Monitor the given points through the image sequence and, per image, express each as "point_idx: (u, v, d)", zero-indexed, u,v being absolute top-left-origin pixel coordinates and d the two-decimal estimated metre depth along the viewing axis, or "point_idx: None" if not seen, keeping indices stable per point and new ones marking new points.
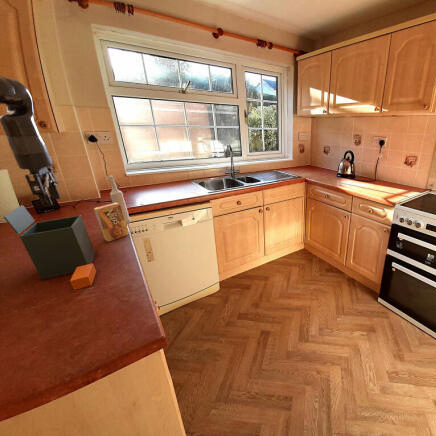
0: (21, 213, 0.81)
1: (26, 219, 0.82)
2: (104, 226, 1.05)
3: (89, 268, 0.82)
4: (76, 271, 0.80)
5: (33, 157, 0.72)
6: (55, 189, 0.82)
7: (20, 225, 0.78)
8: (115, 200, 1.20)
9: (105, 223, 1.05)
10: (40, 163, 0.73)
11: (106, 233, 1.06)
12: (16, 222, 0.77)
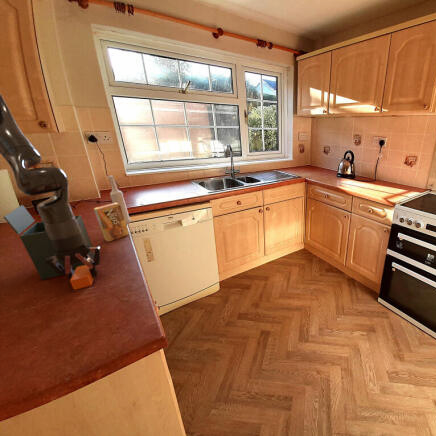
0: (21, 213, 0.81)
1: (26, 219, 0.82)
2: (104, 226, 1.05)
3: None
4: (76, 271, 0.80)
5: (51, 241, 0.73)
6: None
7: (20, 225, 0.78)
8: (115, 200, 1.20)
9: (105, 223, 1.05)
10: (54, 248, 0.73)
11: (106, 233, 1.06)
12: (16, 222, 0.77)
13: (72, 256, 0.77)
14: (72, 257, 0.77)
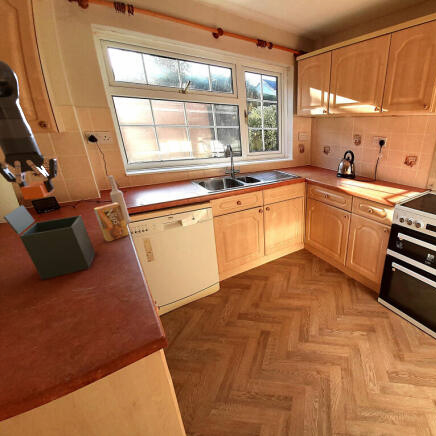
0: (21, 213, 0.81)
1: (26, 219, 0.82)
2: (104, 226, 1.05)
3: None
4: (29, 184, 0.76)
5: None
6: None
7: (20, 225, 0.78)
8: (115, 200, 1.20)
9: (105, 223, 1.05)
10: (2, 149, 0.68)
11: (106, 233, 1.06)
12: (16, 222, 0.77)
13: (23, 163, 0.72)
14: (23, 164, 0.72)
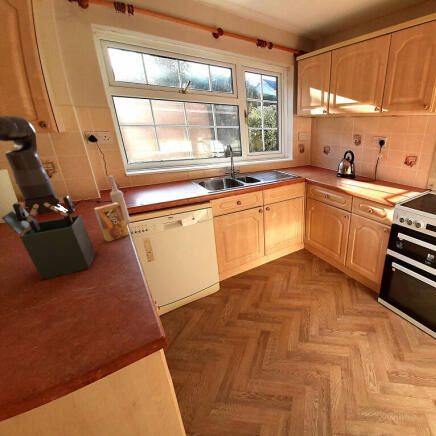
0: None
1: None
2: (104, 226, 1.05)
3: None
4: None
5: None
6: (64, 217, 0.85)
7: (19, 225, 0.78)
8: (115, 200, 1.20)
9: (105, 223, 1.05)
10: (22, 195, 0.77)
11: (106, 233, 1.06)
12: (15, 222, 0.77)
13: (41, 206, 0.81)
14: (40, 207, 0.81)
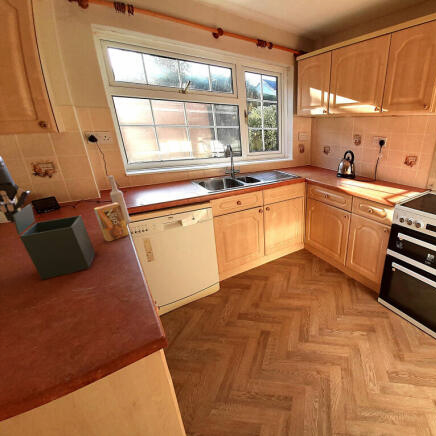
0: (27, 212, 0.82)
1: (29, 219, 0.83)
2: (104, 226, 1.05)
3: None
4: None
5: None
6: None
7: (23, 225, 0.79)
8: (115, 200, 1.20)
9: (105, 223, 1.05)
10: None
11: (106, 233, 1.06)
12: (21, 221, 0.78)
13: None
14: None
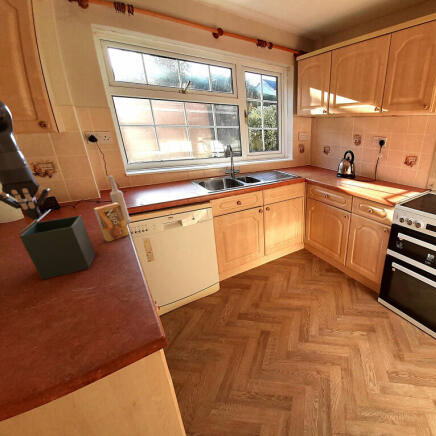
0: None
1: None
2: (104, 226, 1.05)
3: None
4: None
5: None
6: (31, 209, 0.80)
7: None
8: (115, 200, 1.20)
9: (105, 223, 1.05)
10: None
11: (106, 233, 1.06)
12: None
13: (19, 190, 0.77)
14: (20, 191, 0.77)
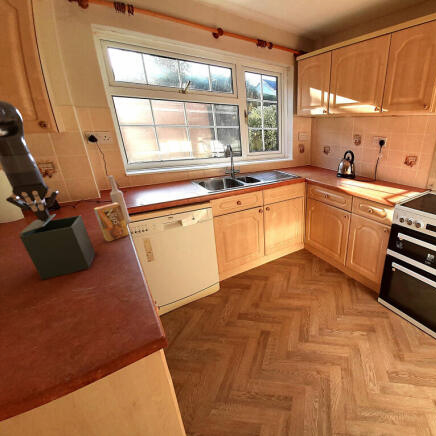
0: None
1: None
2: (104, 226, 1.05)
3: None
4: None
5: (6, 176, 0.74)
6: (40, 211, 0.81)
7: None
8: (115, 200, 1.20)
9: (105, 223, 1.05)
10: (10, 182, 0.75)
11: (106, 233, 1.06)
12: None
13: (29, 192, 0.78)
14: (30, 193, 0.78)
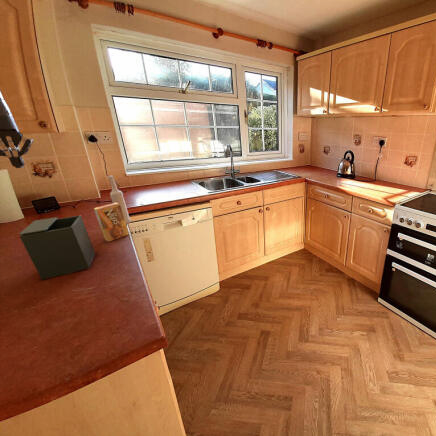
0: None
1: None
2: (104, 226, 1.05)
3: None
4: None
5: None
6: (14, 158, 0.85)
7: None
8: (115, 200, 1.20)
9: (105, 223, 1.05)
10: None
11: (106, 233, 1.06)
12: None
13: (3, 138, 0.82)
14: (4, 139, 0.82)
